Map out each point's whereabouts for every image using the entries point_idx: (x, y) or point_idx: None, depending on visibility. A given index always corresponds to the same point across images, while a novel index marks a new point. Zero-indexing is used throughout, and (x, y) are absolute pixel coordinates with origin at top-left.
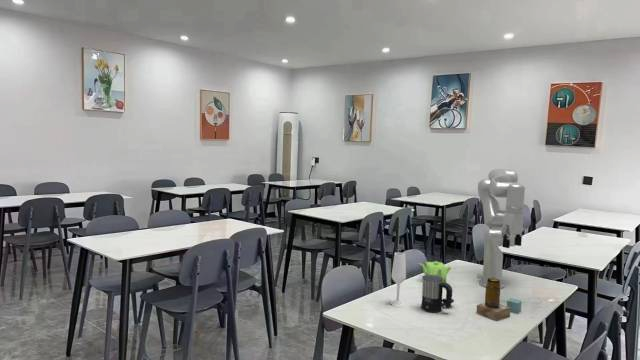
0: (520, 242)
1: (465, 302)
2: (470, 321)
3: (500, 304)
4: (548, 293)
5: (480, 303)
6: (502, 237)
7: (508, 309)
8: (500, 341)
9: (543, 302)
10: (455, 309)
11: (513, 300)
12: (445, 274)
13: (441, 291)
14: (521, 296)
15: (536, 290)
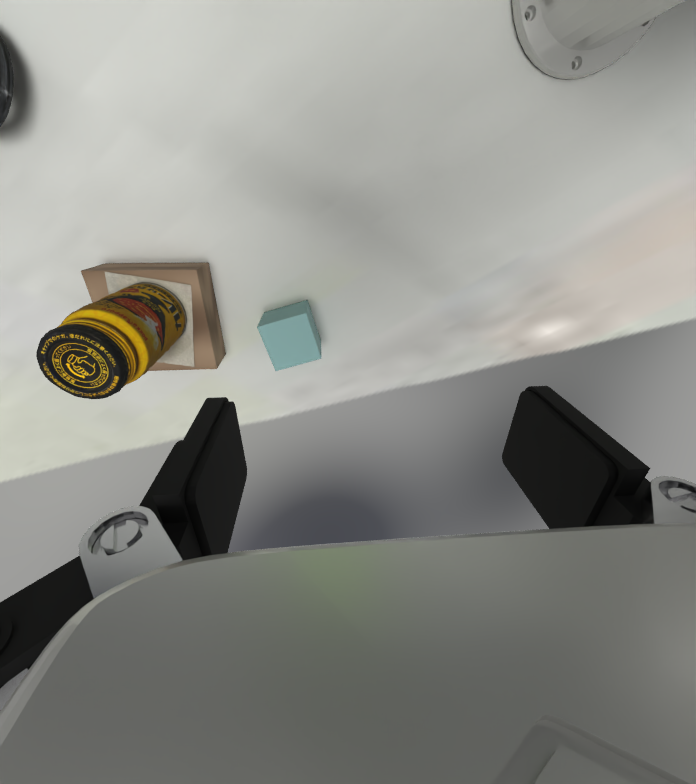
0: (529, 493)
1: (154, 116)
2: (17, 307)
3: (207, 324)
4: (640, 280)
5: (107, 272)
6: (83, 538)
7: (204, 367)
8: (31, 449)
9: (495, 331)
10: (22, 163)
11: (288, 339)
12: None
13: None
14: (505, 235)
15: (657, 222)
